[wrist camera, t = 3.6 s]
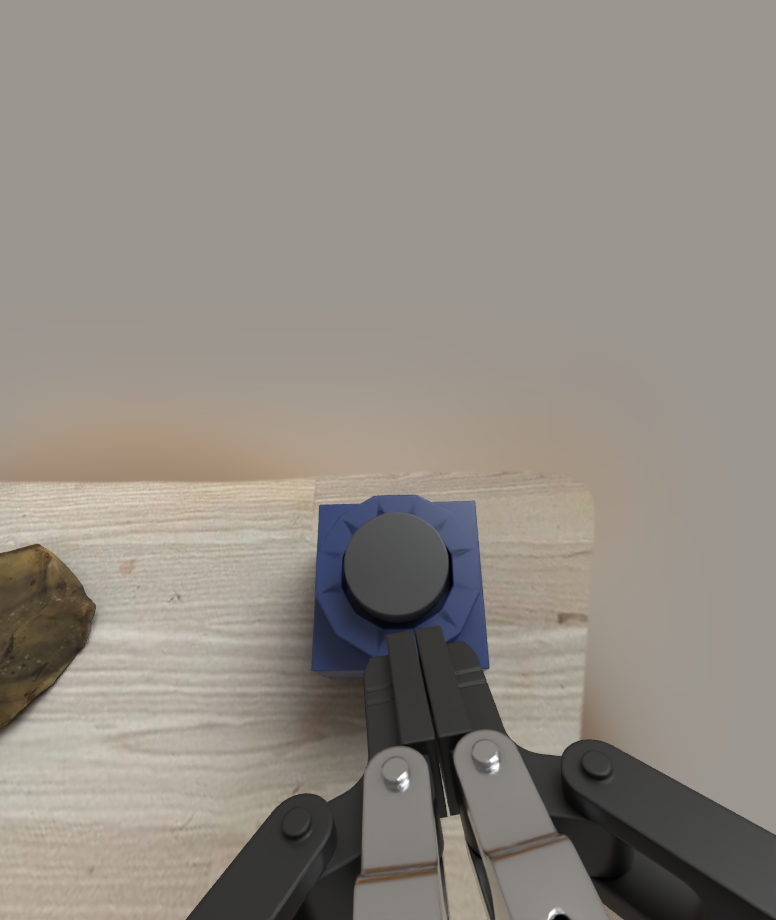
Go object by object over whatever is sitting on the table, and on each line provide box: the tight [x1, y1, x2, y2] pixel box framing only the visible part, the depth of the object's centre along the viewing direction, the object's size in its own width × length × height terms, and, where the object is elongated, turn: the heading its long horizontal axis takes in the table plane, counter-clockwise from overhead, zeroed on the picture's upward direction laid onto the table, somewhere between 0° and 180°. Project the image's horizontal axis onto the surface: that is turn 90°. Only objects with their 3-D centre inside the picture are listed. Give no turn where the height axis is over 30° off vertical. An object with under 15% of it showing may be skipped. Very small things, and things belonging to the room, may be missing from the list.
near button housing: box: [311, 495, 489, 678], centre depth 27 cm, size 8×8×8 cm
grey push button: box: [344, 513, 449, 623], centre depth 23 cm, size 4×4×2 cm
